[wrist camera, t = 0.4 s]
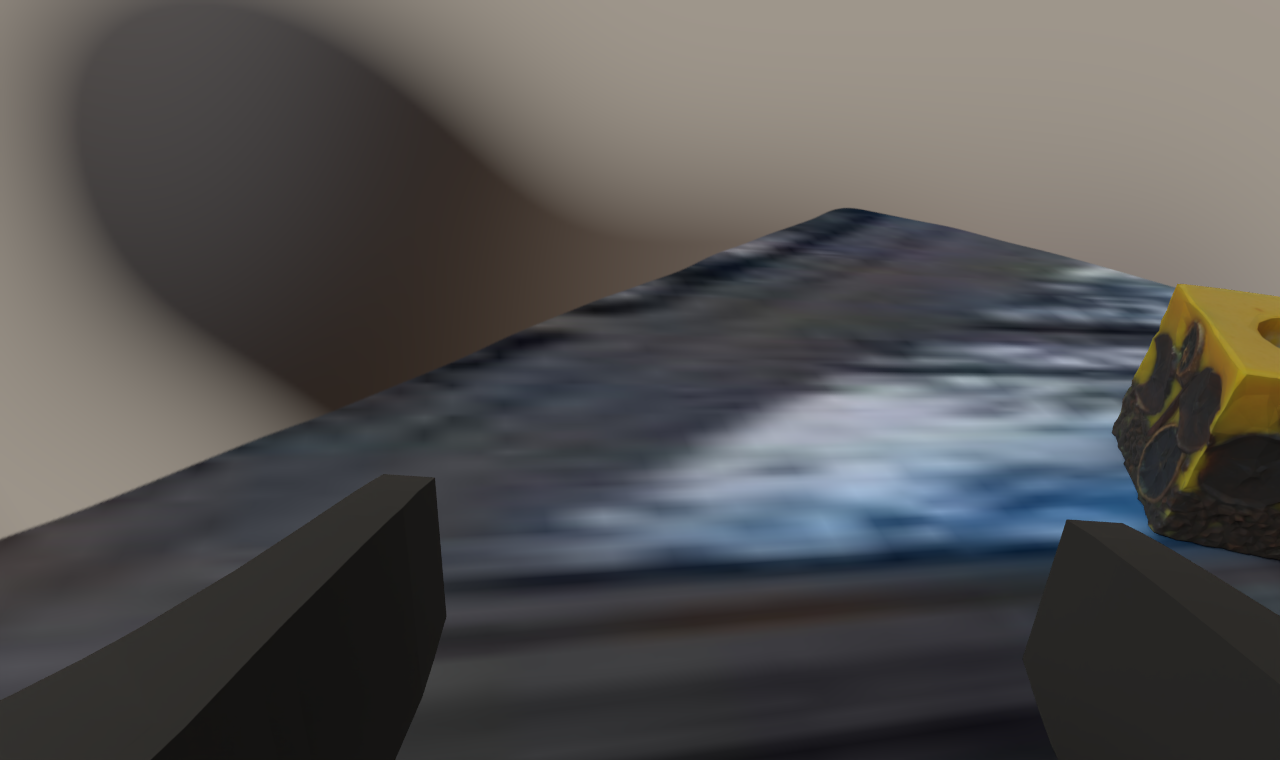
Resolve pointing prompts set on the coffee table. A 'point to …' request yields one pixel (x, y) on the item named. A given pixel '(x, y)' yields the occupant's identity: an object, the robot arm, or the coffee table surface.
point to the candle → (1209, 421)
